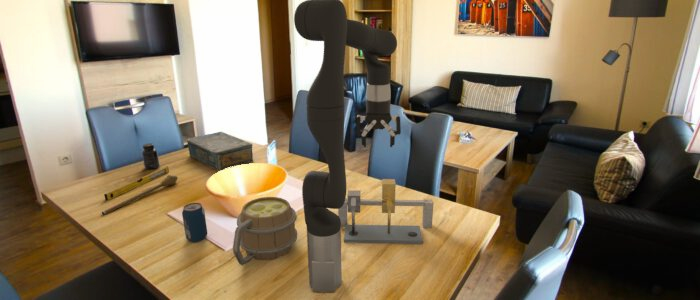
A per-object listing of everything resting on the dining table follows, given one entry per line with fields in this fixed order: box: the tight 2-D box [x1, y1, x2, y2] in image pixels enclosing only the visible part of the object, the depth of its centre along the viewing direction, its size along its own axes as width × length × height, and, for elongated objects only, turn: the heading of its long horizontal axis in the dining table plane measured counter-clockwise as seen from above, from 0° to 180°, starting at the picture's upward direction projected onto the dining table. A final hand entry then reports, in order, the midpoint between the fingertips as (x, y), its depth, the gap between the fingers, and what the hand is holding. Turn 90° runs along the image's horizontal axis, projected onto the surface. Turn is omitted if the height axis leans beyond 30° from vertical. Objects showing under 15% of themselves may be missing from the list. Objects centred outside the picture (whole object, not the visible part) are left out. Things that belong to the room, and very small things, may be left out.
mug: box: [232, 196, 298, 266], centre depth 128 cm, size 19×25×15 cm
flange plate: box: [343, 224, 424, 245], centre depth 140 cm, size 10×26×1 cm, turn 87°
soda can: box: [181, 202, 208, 244], centre depth 137 cm, size 7×7×12 cm
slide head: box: [381, 178, 397, 234], centre depth 140 cm, size 11×4×15 cm, turn 177°
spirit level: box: [104, 166, 170, 201], centre depth 182 cm, size 33×1×3 cm, turn 159°
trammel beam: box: [337, 189, 434, 233], centre depth 141 cm, size 11×33×12 cm, turn 87°
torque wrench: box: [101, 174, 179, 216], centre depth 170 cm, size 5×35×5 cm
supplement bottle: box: [141, 142, 160, 171], centre depth 200 cm, size 7×7×12 cm
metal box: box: [186, 131, 254, 171], centre depth 213 cm, size 21×32×10 cm, turn 45°
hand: (378, 146), depth 133 cm, fingers open, 8 cm apart
